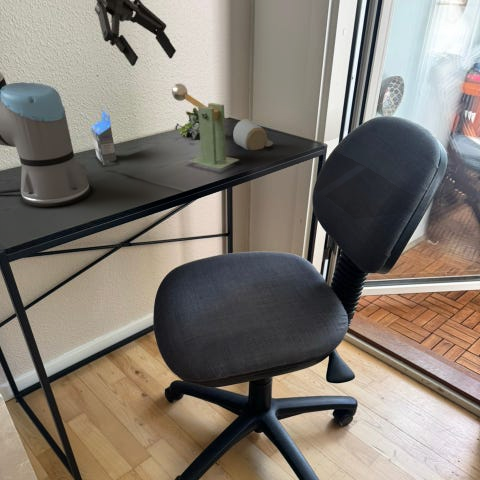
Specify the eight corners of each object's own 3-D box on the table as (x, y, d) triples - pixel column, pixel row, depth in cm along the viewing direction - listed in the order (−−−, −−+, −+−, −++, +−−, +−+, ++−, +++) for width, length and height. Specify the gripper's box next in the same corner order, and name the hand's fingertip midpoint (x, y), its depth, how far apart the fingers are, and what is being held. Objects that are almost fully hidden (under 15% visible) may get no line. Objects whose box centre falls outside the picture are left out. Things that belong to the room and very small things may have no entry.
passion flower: (210, 155, 150) (230, 125, 142) (188, 158, 142) (209, 126, 134) (188, 129, 151) (206, 98, 144) (165, 131, 143) (184, 98, 135)
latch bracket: (188, 165, 127) (183, 106, 118) (208, 156, 132) (204, 99, 123) (220, 173, 121) (217, 112, 113) (239, 164, 127) (238, 105, 118)
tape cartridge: (96, 157, 134) (87, 111, 126) (109, 155, 135) (101, 109, 128) (104, 166, 127) (94, 118, 120) (118, 164, 129) (110, 116, 121)
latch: (167, 97, 122) (170, 82, 119) (177, 94, 125) (180, 79, 122) (208, 125, 119) (212, 110, 116) (218, 121, 121) (222, 107, 119)
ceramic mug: (246, 155, 132) (246, 127, 128) (232, 148, 138) (232, 120, 133) (278, 150, 136) (279, 122, 132) (263, 143, 142) (264, 115, 137)
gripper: (135, -4, 130) (180, 62, 132) (59, 1, 114) (112, 76, 116) (146, -28, 124) (193, 41, 126) (68, -26, 108) (123, 53, 110)
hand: (154, 58), depth 121 cm, fingers open, 13 cm apart
